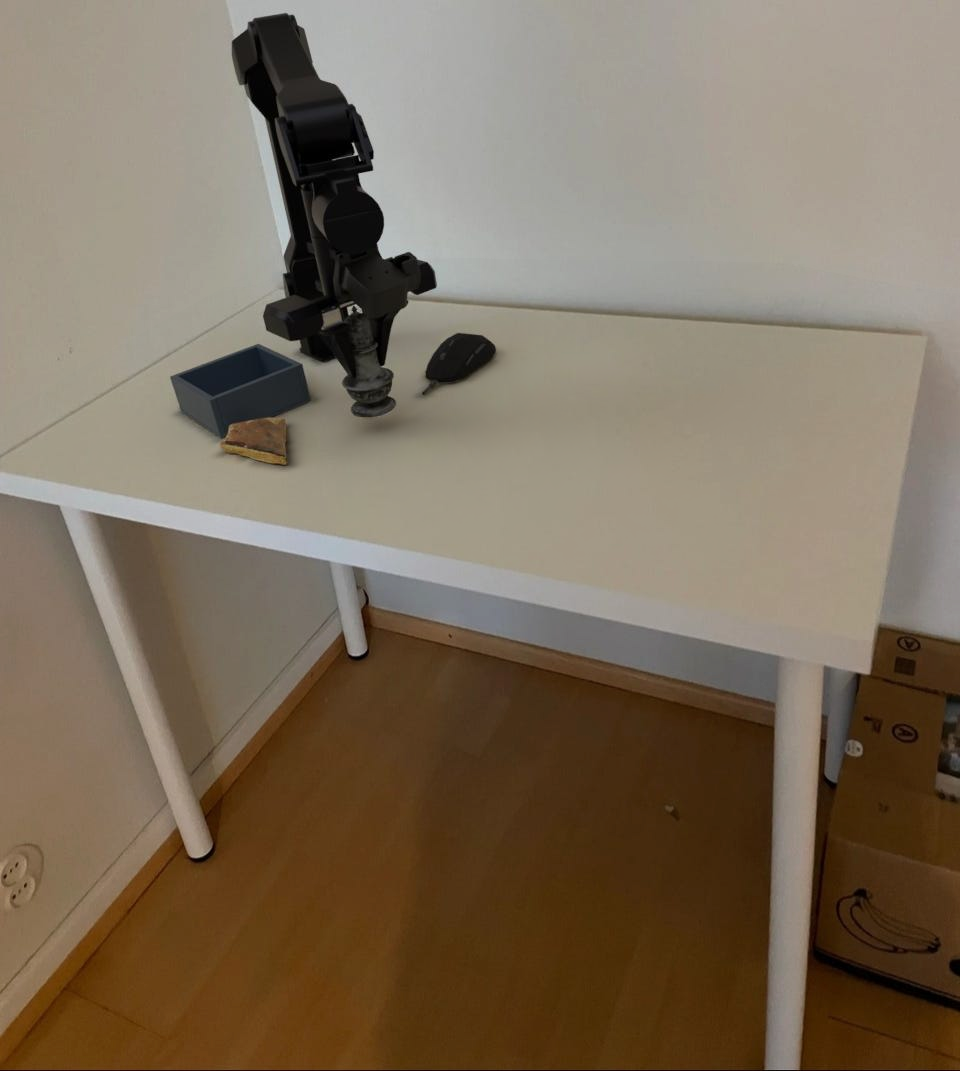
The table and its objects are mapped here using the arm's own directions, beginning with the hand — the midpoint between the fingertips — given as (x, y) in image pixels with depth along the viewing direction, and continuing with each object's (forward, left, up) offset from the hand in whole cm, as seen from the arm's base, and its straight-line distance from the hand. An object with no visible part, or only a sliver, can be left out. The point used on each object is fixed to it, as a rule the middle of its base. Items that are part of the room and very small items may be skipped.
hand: (366, 371), depth 106 cm
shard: (+10, -8, -8) cm, 15 cm away
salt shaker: (0, 0, -5) cm, 5 cm away
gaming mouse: (-16, -6, -8) cm, 19 cm away
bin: (+7, -20, -7) cm, 22 cm away
